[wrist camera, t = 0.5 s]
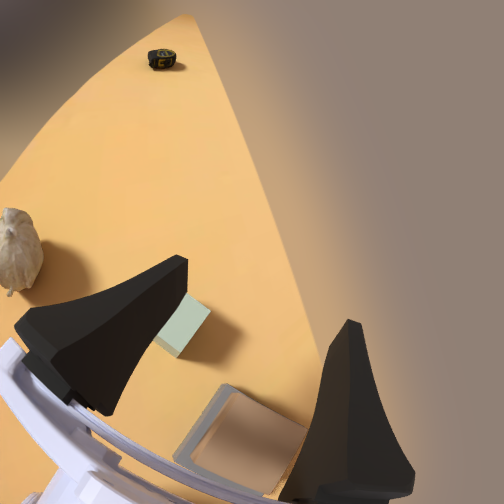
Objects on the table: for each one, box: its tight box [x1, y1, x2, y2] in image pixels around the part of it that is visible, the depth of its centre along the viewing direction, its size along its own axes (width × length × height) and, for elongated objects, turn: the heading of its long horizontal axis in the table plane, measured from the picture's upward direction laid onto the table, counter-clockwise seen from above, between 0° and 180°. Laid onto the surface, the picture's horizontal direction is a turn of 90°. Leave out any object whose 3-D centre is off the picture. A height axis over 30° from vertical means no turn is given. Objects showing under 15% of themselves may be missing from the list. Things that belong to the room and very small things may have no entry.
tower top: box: [190, 393, 308, 495], centre depth 21 cm, size 8×8×3 cm
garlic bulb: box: [0, 208, 44, 297], centre depth 21 cm, size 9×8×10 cm
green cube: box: [153, 293, 211, 358], centre depth 26 cm, size 5×5×5 cm
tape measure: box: [148, 49, 176, 68], centre depth 51 cm, size 7×7×4 cm
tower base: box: [173, 384, 304, 497], centre depth 23 cm, size 10×10×3 cm
